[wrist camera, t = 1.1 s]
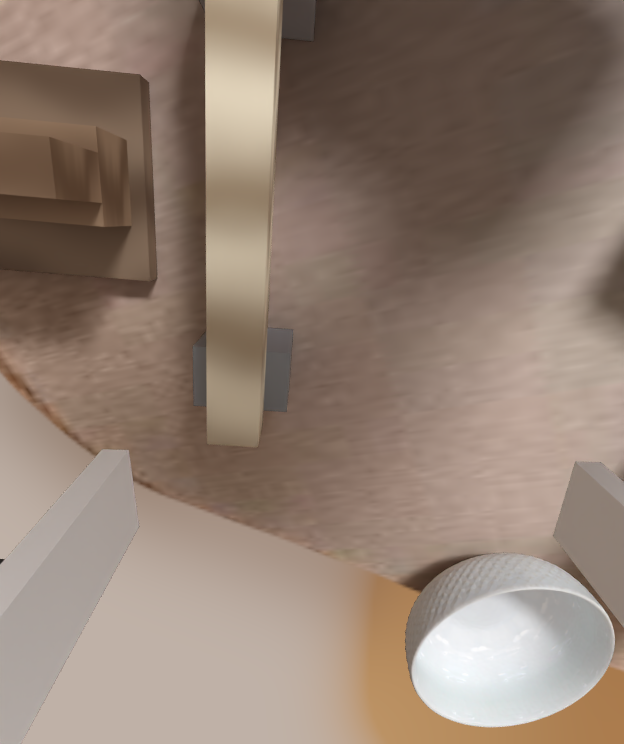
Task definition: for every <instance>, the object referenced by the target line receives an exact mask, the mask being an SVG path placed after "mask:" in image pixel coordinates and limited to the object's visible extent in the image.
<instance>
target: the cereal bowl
mask: <svg viewBox="0 0 624 744" xmlns="http://www.w3.org/2000/svg"><path fill="white" fill-rule="evenodd" d="M405 633H406V639H405V643H406V648H405V650H406V658H407V662H408V669H409V672H410V678H411V681H412V684H413V686H414V689H415V691H416V692H417V694H418V696H419V697H420V698H421V700H422V701H423V702H424V703H425V704H426V705H427V706H428V707H429V708H430V709H432V710H433V711H434V712H436V713H437V714H439V715H441V716H443V717H445V718H447V719H450V720H452V721H455V722H458V723H462V724H466V725H471V726H480V727H504V726H513V725H518V724H523V723H528V722H532V721H535V720H538V719H541V718H544V717H547V716H549V715H552V714H554V713H556V712H558V711H560V710H562V709H564V708H566V707H568V706H569V705H571V704H572V703H574V702H576V701H577V700H579V699H580V698H581V697H583V696H584V695H585V694H586V693H587V692H588V691H590V690H591V689H592V688H593V687H594V686H595V685H596V684H597V682H598V681H599V680H600V679H601V677H602V676H603V675H604V673H605V672H606V670H607V668H608V666H609V664H610V662H611V659H612V656H613V653H614V647H615V636H614V629H613V626H612V623H611V621H610V619H609V616H608V614H607V613H606V612H605V610H604V609H603V607H602V606H601V605H600V604H599V603H598V602H597V600H596V599H595V598H594V597H593V595H592V594H590V593H589V591H588V590H587V589H586V588H585V587H584V586H583V585H582V584H581V583H580V582H579V581H578V580H576V579H575V578H573V577H572V576H571V575H570V574H569V573H567V572H565V571H564V570H563V569H561V568H559V567H557V566H556V565H554V564H551V563H549V562H548V561H544V560H542V559H540V558H535V557H533V556H527V555H523V554H515V553H493V554H485V555H482V556H477V557H474V558H470V559H466V560H465V561H461V562H460V563H457V564H455V565H453V566H451V567H450V568H448V569H446V570H445V571H443V572H441V574H439V575H438V576H436V577H435V578H434V579H433V580H432V581H431V582H430V583H429V584H427V586H426V587H425V588H424V589H423V591H422V592H421V594H420V595H419V596H418V598H417V600H416V601H415V602H414V606H413V607H412V609H411V612H410V615H409V617H408V622H407V628H406V632H405Z"/></svg>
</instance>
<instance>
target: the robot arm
mask: <svg viewBox="0 0 624 744" xmlns="http://www.w3.org/2000/svg"><path fill="white" fill-rule="evenodd" d="M138 528H139V521H138V514H137V506H136V500H135V493H134V484H133V477H132V469H131V462H130V455H129V450H112V449H102V450H101V451H100V452H99V453H98V455H97V456H96V457H95V458H94V459H93V460H92V461H91V463H90V464H89V465H88V466H87V467H86V468H85V469H84V470H83V471H82V473H81V474H80V475H79V476H78V477H77V478H76V479H75V481H74V482H73V483H72V484H71V485H70V486H69V487H68V489H67V490H66V491H65V492H64V493H63V494H62V495H61V496H60V497H59V499H58V500H57V501H56V502H55V503H54V504H53V505H52V507H51V508H50V509H49V510H48V511H47V512H46V513H45V514H44V516H43V517H42V518H41V519H40V520H39V521H38V522H37V523H36V525H35V526H34V527H33V528H32V529H31V530H30V531H29V533H28V534H27V535H26V536H25V537H24V538H23V539H22V540H21V542H20V543H19V544H18V545H17V546H16V547H15V549H14V550H13V551H12V552H11V553H10V554H9V555H8V556H7V557H6V559H0V744H21V743H22V741H23V739H24V738H25V736H26V734H27V732H28V730H29V728H30V726H31V724H32V723H33V721H34V719H35V717H36V715H37V714H38V712H39V710H40V708H41V706H42V704H43V703H44V701H45V699H46V697H47V695H48V693H49V691H50V690H51V688H52V686H53V684H54V682H55V681H56V679H57V677H58V675H59V673H60V671H61V670H62V668H63V666H64V664H65V662H66V660H67V658H68V657H69V655H70V653H71V651H72V649H73V648H74V646H75V644H76V642H77V640H78V638H79V636H80V635H81V633H82V631H83V629H84V627H85V625H86V624H87V622H88V620H89V618H90V616H91V614H92V613H93V611H94V609H95V607H96V605H97V603H98V602H99V600H100V598H101V596H102V594H103V592H104V591H105V589H106V587H107V585H108V583H109V581H110V579H111V578H112V576H113V574H114V572H115V570H116V568H117V567H118V564H119V563H120V561H121V559H122V557H123V556H124V554H125V552H126V550H127V548H128V546H129V544H130V543H131V541H132V539H133V537H134V535H135V534H136V532H137V530H138ZM553 536H554V538H555V539H556V540H557V542H558V543H559V544H560V546H561V547H562V548H563V549H564V551H565V552H566V553H567V555H568V556H569V557H570V559H571V560H572V561H573V562H574V564H575V565H576V566H577V568H578V569H579V570H580V572H581V573H582V574H583V575H584V577H585V578H586V579H587V581H588V582H589V583H590V585H591V586H592V587H593V588H594V590H595V591H596V592H597V594H598V595H599V596H600V598H601V599H602V600H603V602H604V603H605V604H606V605H607V607H608V608H609V609H610V611H611V612H612V613H613V615H614V616H615V617H616V618H617V620H618V621H619V622H620V624H621V625H622V626H623V628H624V481H622V480H621V479H620V478H619V477H618V476H616V475H615V474H614V473H613V472H612V471H610V470H609V469H608V468H607V467H606V466H605V465H603V464H602V463H601V462H575V464H574V468H573V471H572V474H571V478H570V481H569V484H568V488H567V491H566V494H565V498H564V501H563V504H562V508H561V511H560V514H559V518H558V521H557V524H556V528H555V531H554V534H553Z"/></svg>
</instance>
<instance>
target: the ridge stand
mask: <svg viewBox="0 0 624 744" xmlns="http://www.w3.org/2000/svg"><path fill="white" fill-rule="evenodd" d="M0 269H5V270H17V271H29V272H42V273H54V274H67V275H79V276H91V277H104V278H116V279H128V280H141V281H152V280H154V279H157V260H156V236H155V213H154V190H153V167H152V144H151V121H150V98H149V82H148V81H147V80H145V79H144V78H143V77H142V76H141V75H139V74H130V73H120V72H110V71H100V70H90V69H80V68H70V67H61V66H51V65H41V64H31V63H21V62H11V61H1V60H0Z"/></svg>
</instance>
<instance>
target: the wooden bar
mask: <svg viewBox="0 0 624 744" xmlns="http://www.w3.org/2000/svg"><path fill="white" fill-rule="evenodd" d="M282 12H283V0H205V121H206V380H207V444H210V445H225V446H241V447H256V448H258V445H259V440H260V436H261V431H262V426H263V412H264V391H265V370H266V349H267V328H268V307H269V286H270V265H271V244H272V223H273V202H274V181H275V160H276V139H277V118H278V97H279V76H280V55H281V33H282Z"/></svg>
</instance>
